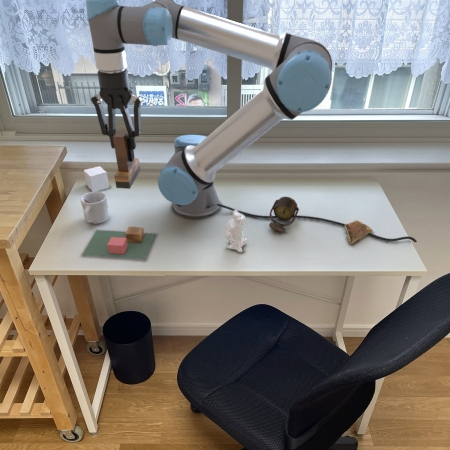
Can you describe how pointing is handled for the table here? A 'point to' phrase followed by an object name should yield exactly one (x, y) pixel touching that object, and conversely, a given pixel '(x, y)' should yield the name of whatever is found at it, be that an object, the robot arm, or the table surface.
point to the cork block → (135, 234)
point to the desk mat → (102, 237)
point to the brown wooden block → (124, 161)
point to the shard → (357, 230)
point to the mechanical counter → (283, 213)
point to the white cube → (96, 178)
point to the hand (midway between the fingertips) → (125, 159)
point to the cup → (95, 207)
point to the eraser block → (117, 245)
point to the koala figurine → (235, 231)
